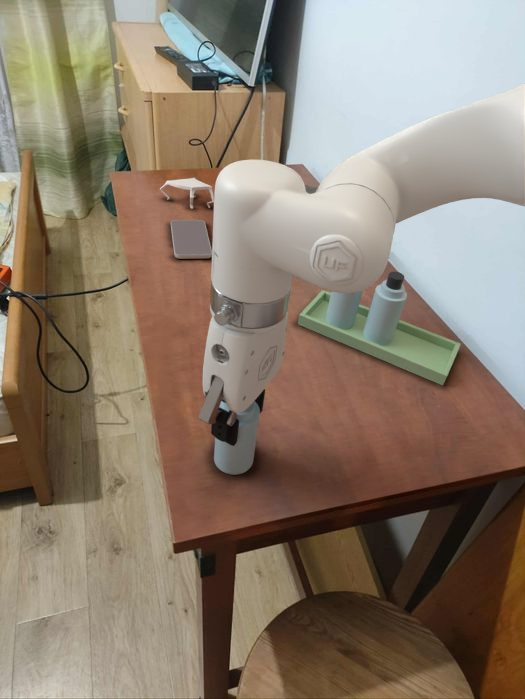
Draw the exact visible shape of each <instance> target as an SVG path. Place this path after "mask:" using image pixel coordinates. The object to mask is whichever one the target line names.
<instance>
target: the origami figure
mask: <svg viewBox="0 0 525 699" xmlns="http://www.w3.org/2000/svg"><path fill="white" fill-rule="evenodd" d="M168 186H169V187H170V186H171V187H174V188H177V189H182V190H187V191H190V192H189V208H190V209H191V210H192V209H194V198H197V196H196V195H194V194H195V193H196V191H206V190H208V193H209V195H210V198H211V201H209V202H206V206H207V207H208V209H211V206H210V204H212V203H213V204H214V192H213V186H212V185H209V184H207V183H205V182H202V181H200V180H198V179H196V177H191V178H180V179H171V180H166V181H165V183H164V184H163V185H162V186H161V187H160V188H159V191H160V192H161V193H162V194H163V195H164V196H165V197H166V200H168V201H170V200H171V197H170V196H169V195H168V194H167V193H166V192H165V191H164V189H165V188H167V187H168Z"/></svg>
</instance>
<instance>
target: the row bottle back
mask: <svg viewBox="0 0 525 699" xmlns="http://www.w3.org/2000/svg"><path fill="white" fill-rule="evenodd" d="M363 292H364V290H362V291H359V292H355V293H337V292H332V291H330V293H331V296H330V301H329V305H328V309H327V314H326V322H327V323H328V324H330V325H333V326H335V327H337V328H340V329H349V328H351V327H352V326H353V325H354V322H355V318H356V314H357V311H358V307H359V304H361V300H362V297H363Z"/></svg>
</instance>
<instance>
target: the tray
mask: <svg viewBox="0 0 525 699" xmlns="http://www.w3.org/2000/svg"><path fill="white" fill-rule="evenodd" d="M330 296H331V291H328V290H325V289H321V291H320V292H318V294H317V295H316V296H314V298H313V299H312V300H311V302H310V303H308V305H307V306H306V307H305V308H304V309H303V310H302V311H301V312H300V314H299V315H298V320H297V325H298V326H301V327H303V328H305V329H308V330H309V331H312V332H315V333H317V334H320V335H321V336H324V337H327V338H329V339H332V340H334V341H336V342H339V343H340V344H343V345H346V346H348V347H350V348H353V349H355V350H357V351H360V352H362V353H365V354H366V355H370V356H372V357H374V358H376V359H379V360H380V361H383V362H385V363H388V364H391V365H392V366H395V367H397V368H400V369H402V370H405V371H407V372H409V373H412V374H414V375H417V376H419V377H421V378H424V379H426V380H429V381H431V382H432V383H434V384H435V383H436V384H438V385H440V386H443V387H444V384H445V383H446V380H447V379H448V376H449V373H450V371H451V368H452V366H453V364H454V362H455V359H456V357H457V354H458V352H459V350H460V348H461V346H462V343H460V342H457V341H455V340H452V339H451V338H447V337H445V336H442V335H440V334H437V333H435V332H432V331H429V330H426V329H424V328H422V327H419V326H417V325H414V324H412V323H410V322H407V321H404V320H401V319H399V321H398V324H397V327H396V330H395V333H394V335H393V338H392V341H391V342H390V343H389V344H387V345H378V344H376V343H374V342H371V341H369V340H366V339H365V338H364V336H363V330H364V327H365V323H366V320H367V317H368V313H369V310H370V307H368V306H366V305H363V304H361V303H360V304H359V307H358V311H357V314H356V318H355V322H354V325H353V326H352V327H351V328H349V329H340V328H337V327H335V326H333V325H330V324H328V323H327V322H326V314H327V309H328V305H329V301H330Z"/></svg>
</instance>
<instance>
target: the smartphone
mask: <svg viewBox="0 0 525 699" xmlns="http://www.w3.org/2000/svg"><path fill="white" fill-rule="evenodd" d="M170 229H171V230H170V231H171V239H172V247H173V256H174V257H175V259H182V260H183V259H187V260H188V259H210V258H212V247H211V246H212V245H211V242H210V238H209V233H208V229H207V224H206V222H205V220H202V219H173V220H171V221H170Z"/></svg>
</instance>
